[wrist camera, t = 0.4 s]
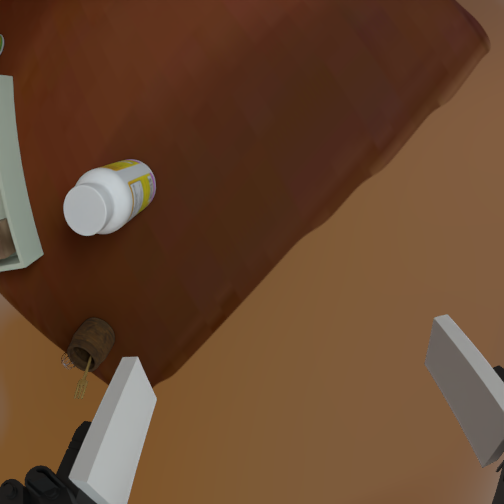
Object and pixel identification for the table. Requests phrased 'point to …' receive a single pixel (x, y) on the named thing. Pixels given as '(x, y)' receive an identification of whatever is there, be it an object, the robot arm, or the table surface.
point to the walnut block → (6, 240)
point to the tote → (14, 187)
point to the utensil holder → (90, 348)
